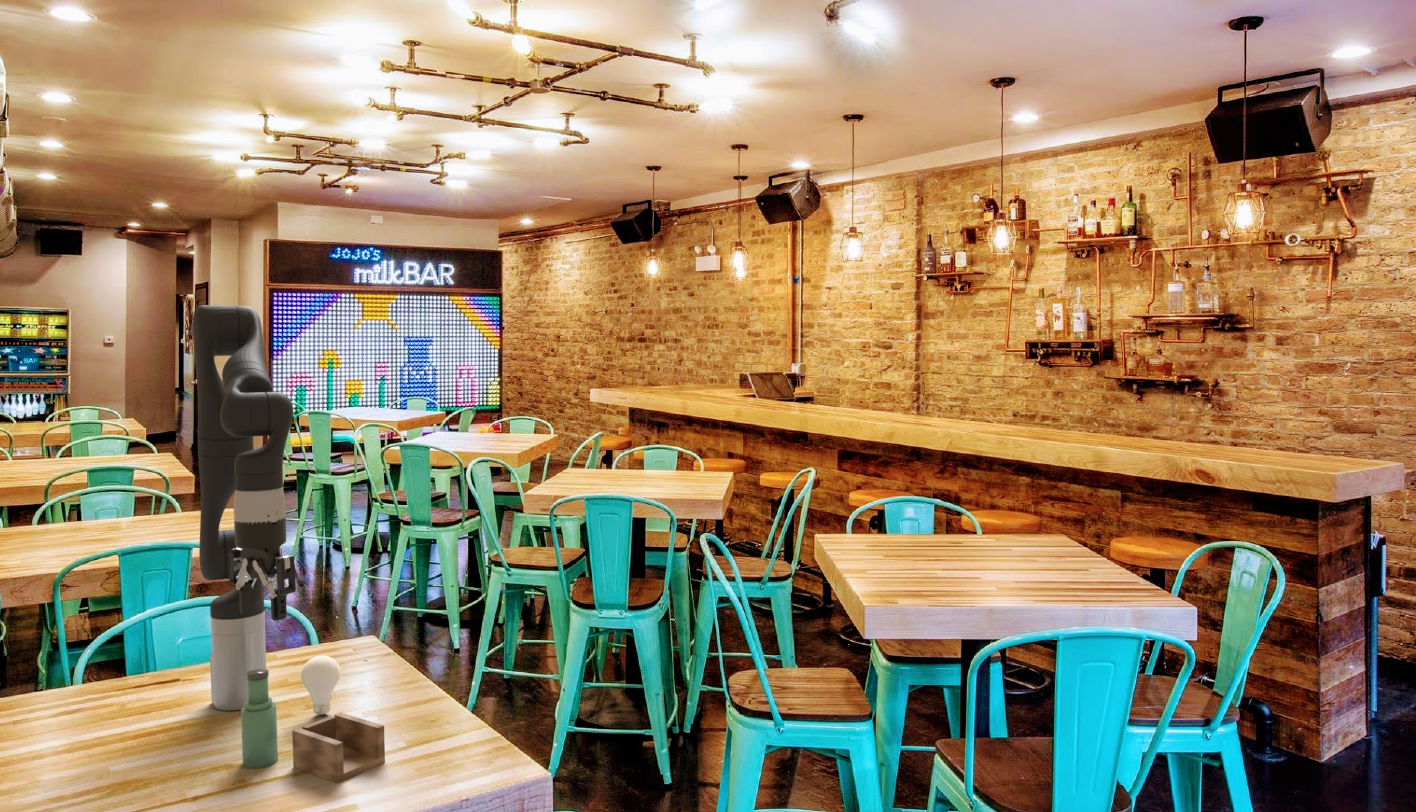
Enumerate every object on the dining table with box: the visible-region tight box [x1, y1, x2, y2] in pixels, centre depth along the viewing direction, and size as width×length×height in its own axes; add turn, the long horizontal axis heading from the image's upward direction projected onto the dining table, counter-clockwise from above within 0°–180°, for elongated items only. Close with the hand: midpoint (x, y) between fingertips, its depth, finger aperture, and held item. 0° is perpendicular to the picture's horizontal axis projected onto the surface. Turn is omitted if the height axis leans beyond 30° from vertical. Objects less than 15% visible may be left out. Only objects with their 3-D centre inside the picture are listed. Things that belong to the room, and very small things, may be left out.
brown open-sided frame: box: [291, 712, 386, 784], centre depth 154 cm, size 11×9×6 cm
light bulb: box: [300, 655, 341, 717], centre depth 175 cm, size 7×7×11 cm
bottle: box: [240, 668, 279, 770], centre depth 155 cm, size 5×5×15 cm
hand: (262, 615), depth 155 cm, fingers open, 8 cm apart
